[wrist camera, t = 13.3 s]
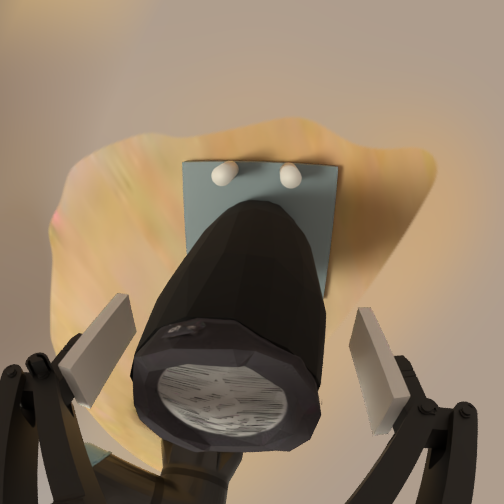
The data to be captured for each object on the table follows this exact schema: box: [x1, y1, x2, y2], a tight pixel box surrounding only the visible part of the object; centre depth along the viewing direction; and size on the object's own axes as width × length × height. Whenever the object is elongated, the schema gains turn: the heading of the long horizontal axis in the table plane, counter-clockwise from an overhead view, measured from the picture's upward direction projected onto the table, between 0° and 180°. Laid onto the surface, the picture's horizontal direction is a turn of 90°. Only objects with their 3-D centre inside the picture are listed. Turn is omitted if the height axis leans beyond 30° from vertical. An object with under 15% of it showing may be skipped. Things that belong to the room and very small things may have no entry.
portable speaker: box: [130, 200, 326, 452], centre depth 19 cm, size 9×9×20 cm
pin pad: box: [182, 161, 338, 297], centre depth 26 cm, size 14×14×5 cm
